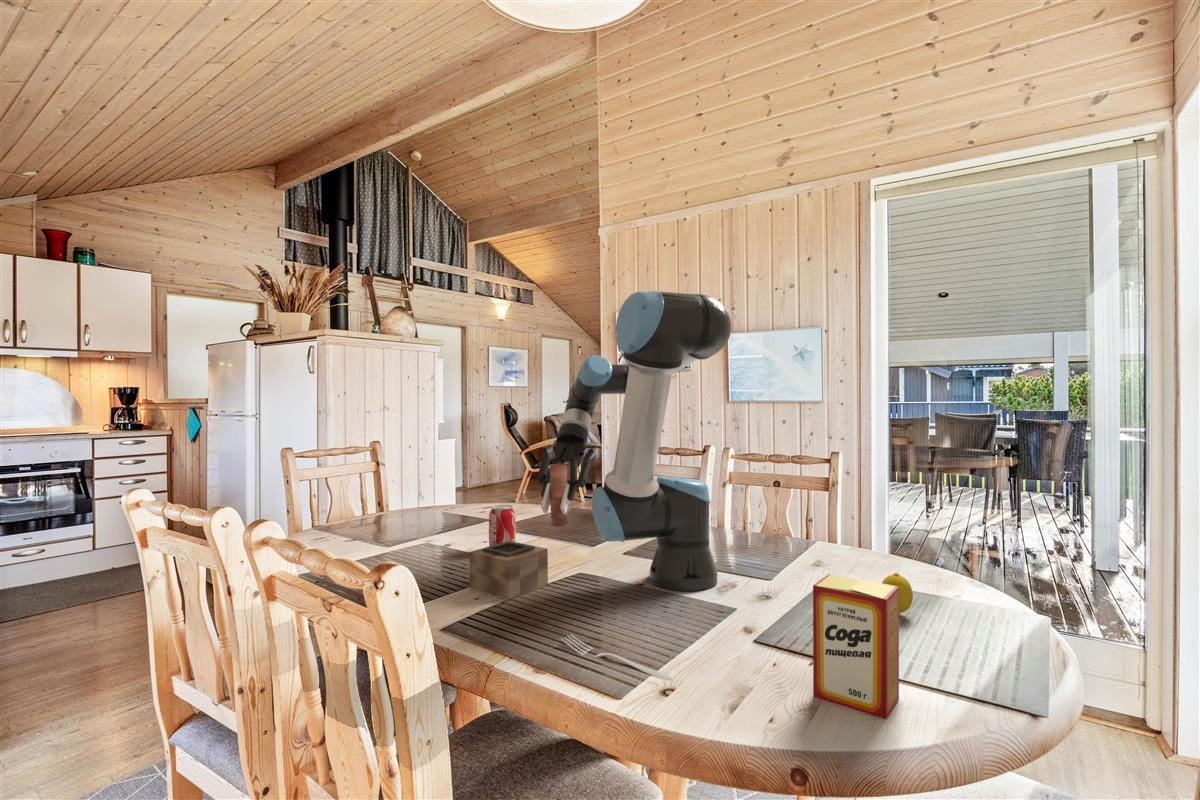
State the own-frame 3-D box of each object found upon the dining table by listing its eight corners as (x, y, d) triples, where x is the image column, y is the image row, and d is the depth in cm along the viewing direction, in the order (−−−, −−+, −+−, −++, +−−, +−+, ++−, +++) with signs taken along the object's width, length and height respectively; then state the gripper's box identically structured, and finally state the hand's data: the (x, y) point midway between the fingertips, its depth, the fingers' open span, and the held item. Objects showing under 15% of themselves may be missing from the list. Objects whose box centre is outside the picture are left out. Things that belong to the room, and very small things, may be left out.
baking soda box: (813, 696, 84) (813, 582, 84) (829, 679, 89) (828, 571, 89) (886, 719, 78) (886, 596, 78) (898, 699, 83) (898, 584, 83)
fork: (684, 692, 87) (684, 680, 87) (558, 649, 102) (558, 638, 101) (695, 684, 89) (695, 672, 89) (571, 643, 104) (571, 632, 104)
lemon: (910, 611, 116) (910, 570, 116) (914, 622, 111) (914, 578, 111) (878, 608, 118) (878, 567, 118) (881, 618, 113) (881, 575, 113)
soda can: (513, 554, 159) (512, 509, 159) (486, 554, 160) (486, 509, 159) (517, 547, 166) (517, 504, 166) (491, 547, 167) (491, 504, 166)
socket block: (547, 584, 134) (547, 545, 134) (508, 599, 125) (508, 558, 125) (509, 574, 142) (509, 538, 142) (470, 588, 132) (469, 549, 132)
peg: (571, 523, 142) (570, 464, 141) (559, 527, 139) (558, 466, 138) (559, 521, 145) (558, 463, 144) (547, 524, 142) (546, 465, 141)
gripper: (609, 440, 154) (592, 520, 138) (546, 439, 158) (523, 517, 143) (603, 421, 148) (585, 502, 133) (538, 421, 153) (514, 499, 137)
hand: (553, 510), depth 138 cm, fingers closed on peg, 4 cm apart
